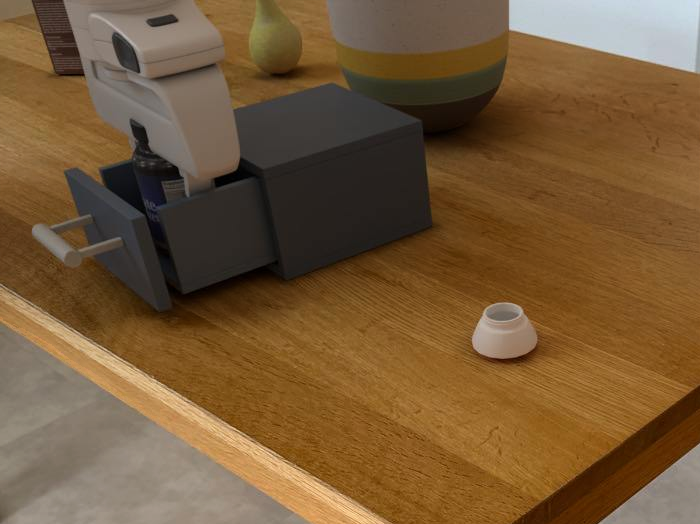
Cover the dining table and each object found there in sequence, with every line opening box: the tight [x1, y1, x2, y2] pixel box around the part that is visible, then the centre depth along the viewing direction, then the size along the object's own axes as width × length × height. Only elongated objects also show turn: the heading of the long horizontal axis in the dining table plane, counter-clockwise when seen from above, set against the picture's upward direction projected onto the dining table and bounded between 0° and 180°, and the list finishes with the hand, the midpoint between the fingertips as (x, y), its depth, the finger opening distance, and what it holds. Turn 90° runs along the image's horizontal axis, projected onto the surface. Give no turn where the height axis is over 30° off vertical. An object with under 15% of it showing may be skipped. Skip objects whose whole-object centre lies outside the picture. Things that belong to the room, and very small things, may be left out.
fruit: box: [248, 0, 303, 75], centre depth 127 cm, size 7×8×12 cm
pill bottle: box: [130, 118, 216, 256], centre depth 85 cm, size 6×6×11 cm
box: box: [30, 0, 85, 75], centre depth 131 cm, size 6×4×12 cm
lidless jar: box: [471, 302, 539, 360], centre depth 77 cm, size 5×3×5 cm
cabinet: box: [233, 82, 433, 281], centre depth 92 cm, size 16×15×10 cm
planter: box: [325, 0, 510, 134], centre depth 109 cm, size 20×20×21 cm
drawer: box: [31, 158, 278, 313], centre depth 86 cm, size 20×14×8 cm
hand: (181, 199), depth 86 cm, fingers closed on pill bottle, 6 cm apart
